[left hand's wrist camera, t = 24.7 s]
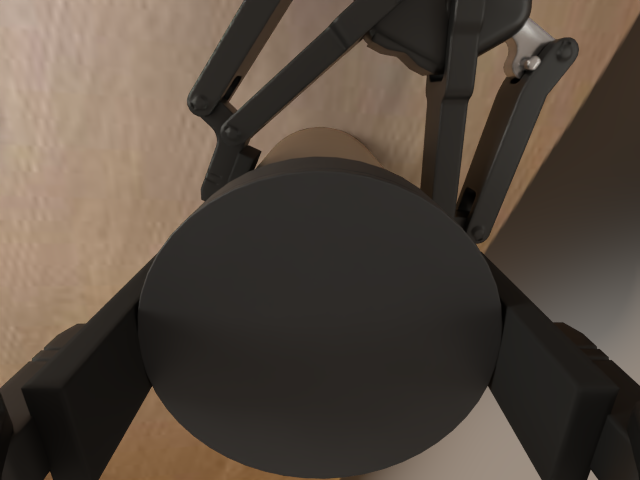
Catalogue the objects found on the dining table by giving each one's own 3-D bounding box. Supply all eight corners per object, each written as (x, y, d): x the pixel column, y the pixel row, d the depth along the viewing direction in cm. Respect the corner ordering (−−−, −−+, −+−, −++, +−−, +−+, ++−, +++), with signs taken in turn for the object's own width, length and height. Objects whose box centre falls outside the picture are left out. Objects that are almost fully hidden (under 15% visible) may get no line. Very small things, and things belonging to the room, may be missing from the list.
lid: (102, 289, 12) (59, 329, 10) (346, 78, 10) (353, 74, 8) (302, 462, 15) (299, 521, 13) (527, 326, 12) (568, 372, 10)
